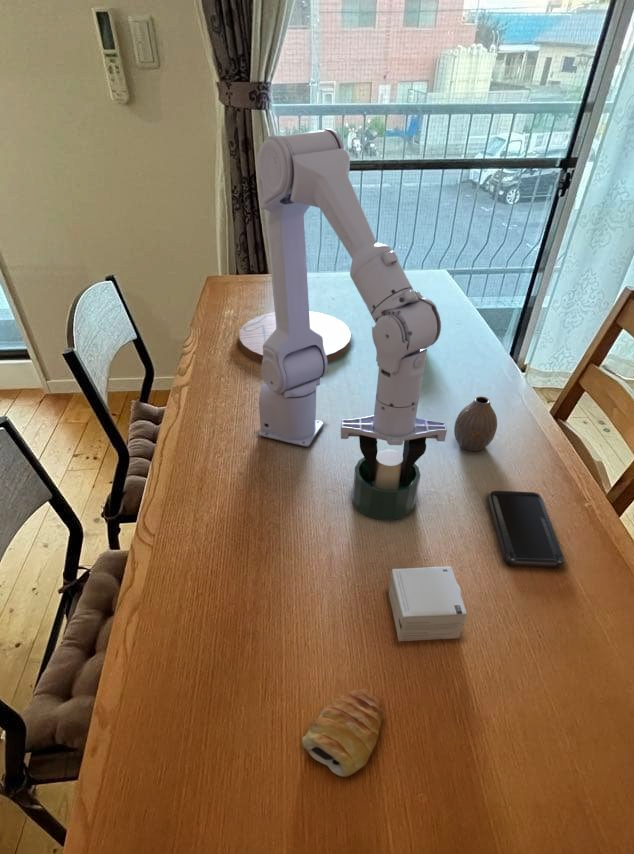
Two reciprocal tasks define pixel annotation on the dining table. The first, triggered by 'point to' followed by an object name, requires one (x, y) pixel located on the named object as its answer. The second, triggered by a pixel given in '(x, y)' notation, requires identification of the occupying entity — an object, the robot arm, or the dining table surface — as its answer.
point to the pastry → (345, 732)
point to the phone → (524, 530)
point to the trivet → (325, 325)
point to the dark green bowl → (384, 494)
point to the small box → (426, 603)
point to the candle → (388, 469)
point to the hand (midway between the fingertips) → (386, 477)
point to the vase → (476, 425)
